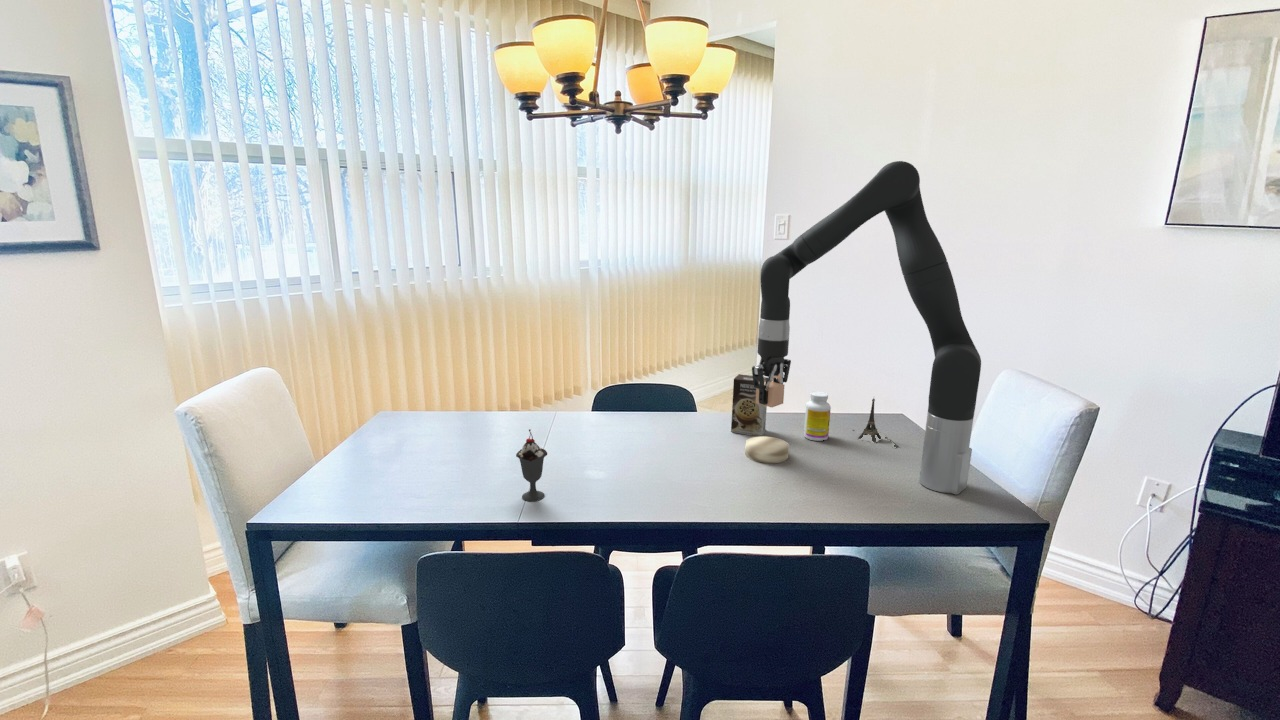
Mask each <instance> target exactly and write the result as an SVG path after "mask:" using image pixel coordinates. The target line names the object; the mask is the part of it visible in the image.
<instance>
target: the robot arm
mask: <svg viewBox="0 0 1280 720" xmlns="http://www.w3.org/2000/svg"><path fill="white" fill-rule="evenodd" d="M920 178H921V177H920V174H919V171H918V169H917V168H916V167H915V166H914V165H913V164H912V163H910V162H907V161H903V160H895V161H892V162H890V163H887V164H885V165H884V166H883V167H882V168H881V169H880V170H879V171H878V172H877V173H876V174H875V175H874V176H873V177H872V178H871V179H870V180H869V182H868V183H866V184H865V185H864V186H863V187H862V188H861V189H860V190H859V191H858V192H857V193H855V195H853V196H852V197H851V198H850V199H848V200H847V201H846V202H845V203H843V204H842V205H841V206H840V207H838V208H837V209H835V210H834V211H832V212H831V213H830V214H828V215H827V216H825V217H824V218H823V219H821V220H819V221H818V222H817V223H815V224H814V225H812V226H811V227H809V229H807V230H806V231H804V232H803V233H802V234H800V235H799V236H798V237H797V238H795V239H794V241H793V242H792V243H791V244H789V245H787V246H786V247H785V248H783V249H782V250H780V251H779V252H778V253H776V254H775V255H772V256H770V257H767V258H766V259H765V260H764V261H763V262H762V265H761V269H760V279H759V280H760V292H761V293H760V294H761V303H760V316H759V318H760V319H759V324H758V335H757V336H758V337H757V351H756V352H757V355H759V357H760V361H759V364H758V365H753V366H751V373H752V374H751V376H753V385H754V388H758V389H759V403H760V404H763V405H766V404H767V403H768V389H769V385H770V382H775V383H779V384H784V383H787V382H788V379H789V373H790V368H791V364H792V360H791V359H788V358H785V357H787V356H788V355H789V343H790V332H791V331H790V330H791V329H790V328H791V327H790V313H791V300H790V297H789V291H790V279H792V278H793V277H795V276H797V274H798V273H800V272H802V270H803V269H805V268H806V267H807V266H809V265H810V264H812V263H814V262H816V261H817V260H819V259H820V258H822V257H824V255H826V254H827V253H829V252H830V251H832V250H833V249H834V248H836V247H837V246H838V245H839V244H841V243H842V242H843V241H845V240H846V239H847V238H849V236H850V235H851V234H852V233H854V232H855V231H856V230H858V228H860V227H862V225H865V223H866V222H868V221H869V220H871V219H872V218H874V217H876V216H878V215H879V214H881V213H883V212H884V213H885V215H886V217H887V219H888V221H889V224H890V226H891V229H892V231H893V236H894V241H895V247H896V252H897V257H898V262H899V266H900V269H901V274H902V276H903V279H904V282H905V286H906V288H907V291H908V293H909V296H910V298H911V300H912V302H913V304H914V306H915V307H916V309H917V311H918V313H919V314H920V317H921V318H922V320H923V321H924V323H925V325H926V328H927V329H928V332H929V336H930V339H931V344H932V348H933V353H934V360H933V363H932V368H931V373H930V374H931V375H930V384H929V392H928V406H927V407H928V408H927V414H926V415H927V416H926V422H925V431H924V438H923V447H922V454H921V463H920V470H919V477H918V478H919V483H920V485H922V486H923V487H925V488H927V489H930V490H932V491H935V492H939V493H945V494H954V495H959V494H960V493H961V492H963V491H964V490H965V489H966V488H967V486H968V480H969V474H970V473H969V472H970V466H971V460H972V452H973V449H972V447H970V446H971V438H972V433H973V432H972V431H973V426H974V425H973V424H974V417H975V411H976V405H977V397H978V391H979V384H980V377H981V369H982V359H981V355H980V353H979V351H978V349H977V347H976V345H975V344H974V342H973V340H972V338H971V335H970V333H969V331H968V329H967V327H966V323H965V322H964V319H963V315H962V311H961V307H960V303H959V302H960V301H959V298H958V292H957V288H956V284H955V281H954V276H953V274H952V271H951V267H950V265H949V263H948V259H947V256H946V255H945V252H944V249H943V247H942V246H941V243H940V241H939V239H938V237H937V236H936V234H935V232H934V230H933V227H931V225H930V222H929V219H928V217H927V214H926V210H925V207H924V202H923V198H922V193H921V185H920V184H921V182H920V181H921V179H920ZM765 377H767V378H765ZM758 381H759V384H758ZM764 381H766V383H765V385H764Z"/></svg>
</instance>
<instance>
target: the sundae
mask: <svg viewBox="0 0 1280 720" xmlns="http://www.w3.org/2000/svg"><path fill="white" fill-rule="evenodd" d="M531 430H532V429H530V428H529V429H528V431H529V436H528V438H526V440H525V441H526V442H525V443H524V444H523V446H522V448H521V449H520V450H519V451H517V453H516V454H515V457H516V458H518V460H519V462H520V468H521V473H522V476H523V479H525V481H527V482H529V485H530V486H529V487H530V488H529V491H526V492H523V494H522V496H521V498H522V500H524V501H526V500H528V501H527V502H537V500H538V501H540V500H542V499H544V498H545V493H544V492H543V491H540V490H537V485H536V484H537V481H539V480H540V479H541V477H542V475H543V467H544V460H545V458H546V457H547V456H548V452H547V450H546V449H545V448H541V447H540V446H539V444H537V443H536V440H535V439H534V438H533V434H532V432H531Z"/></svg>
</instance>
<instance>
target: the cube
mask: <svg viewBox="0 0 1280 720" xmlns="http://www.w3.org/2000/svg"><path fill="white" fill-rule="evenodd" d="M765 383H766V382H764V385H765ZM784 396H785V384H784V383H783V384H779V383H775V382H770V385H769V389H768V403H767V404H766V405H764V406H767V407H768V408H774V407H777V406H778V407H779V406H780V405H783V404H784V400H785V399H784ZM756 403H757V404H760V403H759V389H758V388H756ZM761 405H763V404H761Z"/></svg>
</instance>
